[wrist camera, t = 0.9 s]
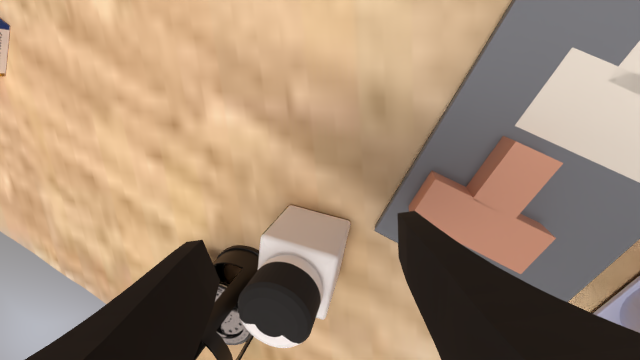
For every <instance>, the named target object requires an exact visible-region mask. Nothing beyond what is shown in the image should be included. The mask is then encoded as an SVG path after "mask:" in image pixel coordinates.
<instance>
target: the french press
mask: <svg viewBox="0 0 640 360" xmlns="http://www.w3.org/2000/svg"><path fill="white" fill-rule="evenodd" d="M258 261H259V251H258V250H256V249H253V248H251V247H247V246H232V247H230V248H227V249H225V250H224V251H223V252H222V253H221V254H220V255H219V256H218V257H217V260H216V261H215V262H214V263H213V265H214V268H215V270H216V272H217V275H218V277H219V279H220V282H219V286H218V291H217V295H216V299H215V303H214V307H213V310H212V312H211V315H210V318H209V320H208V323H207V326H206V328H205V331H204V334H203V336H202V339H201V341H200V344H199V347H198V349H197V352H196V354H195V357H194V359H193V360H196V359H197V357H198V356H199V355H200V353H201V352H202V350H203V349H204V348H205V346H207V348H208V349H209V350H210V351H211V352H212V353H213V355H214V356H215V358H216V359H217V360H233V358H232V355H231V352H230V350H229V348H228V346H227V345H238V344H242V343H244V342H246V341H247V342H246V344H245V345H244V347H243V349H242V350H241V352H240V354H239V355H238V357H237V359H236V360H240V359H241V358H242V356H243V354H244V352H245V351H246V349H247V347H248V345H249V344H250V342H251V340H252V339H253V337H254V336H253V335H252V334H251V333H250V332H249V331H248V330H247V329H246V328H245V326H244V325H243V323H242V321H241V319H240V316H239V311H238V299H239V296H240V293H241V292H242V291H243V289H244V288H245V287H246V285H247V284H248V283H249V281H250V280H251V279H252V277H253V276H254V275H255V273H256V272H257V271H258ZM225 264H231V265H235V266H238V267H240V268H242V270H241V272H240V273H239V274H238V275H237V276H236V277H235V279H234V280H233V281H232V282H231V283H230V285H228V284H227V282H226V280H225V277H224V266H225ZM226 344H227V345H226Z"/></svg>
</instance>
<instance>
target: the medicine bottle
mask: <svg viewBox="0 0 640 360" xmlns="http://www.w3.org/2000/svg"><path fill="white" fill-rule="evenodd" d="M349 229H350V221H348V220H345V219H341V218H337V217H334V216H330V215H326V214H323V213H319V212H315V211H311V210H308V209H304V208H300V207H297V206H293V205H289V206H288V207H287V208H286V209H285V210H284V211H283V212H282V213H281V215H280V216H279V217H278V218H277V219H276V220H275V221H274V222H273V223H272V224H271V225H270V227H269V228H268V229H267V230H266V231H265V232H264V233H263V234H262V236H261V239H260V250H259V261H258V271H257V272H256V273H255V275H254V276H253V277H252V279H251V280H250V281H249V283H248V284H247V285H246V287H245V288H244V289H243V291H242V292H241V293H240V296H239V299H238V311H239V316H240V319H241V321H242V323H243V325H244V326H245V328H246V329H247V330H248V331H249V332H250V333H251V334H252V335H253V336H254V337H255V338H257V339H258V340H260V341H261V342H263V343H265V344H267V345H270V346H273V347H278V348H290V347H293V346H296V345H299V344H301V343H303V342H304V341H305V340H306V339H307V338H308V337H309V335H310V333H311V330H312V327H313V324H314V321H315V318H319V319H325V317H326V315H327V312H328V309H329V305H330V302H331V299H332V296H333V292H334V289H335V286H336V282H337V279H338V276H339V272H340V268H341V264H342V259H343V255H344V251H345V246H346V242H347V237H348V233H349Z"/></svg>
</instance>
